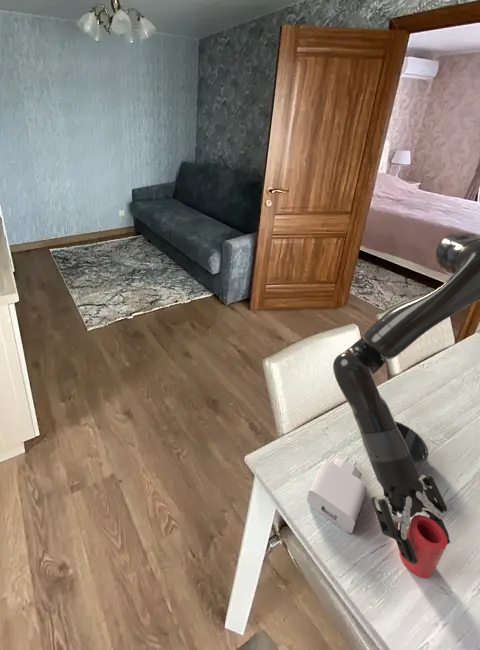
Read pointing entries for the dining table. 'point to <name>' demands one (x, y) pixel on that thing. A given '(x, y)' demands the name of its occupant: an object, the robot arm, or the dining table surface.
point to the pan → (414, 446)
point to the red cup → (425, 545)
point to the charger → (338, 492)
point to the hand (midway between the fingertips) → (428, 551)
